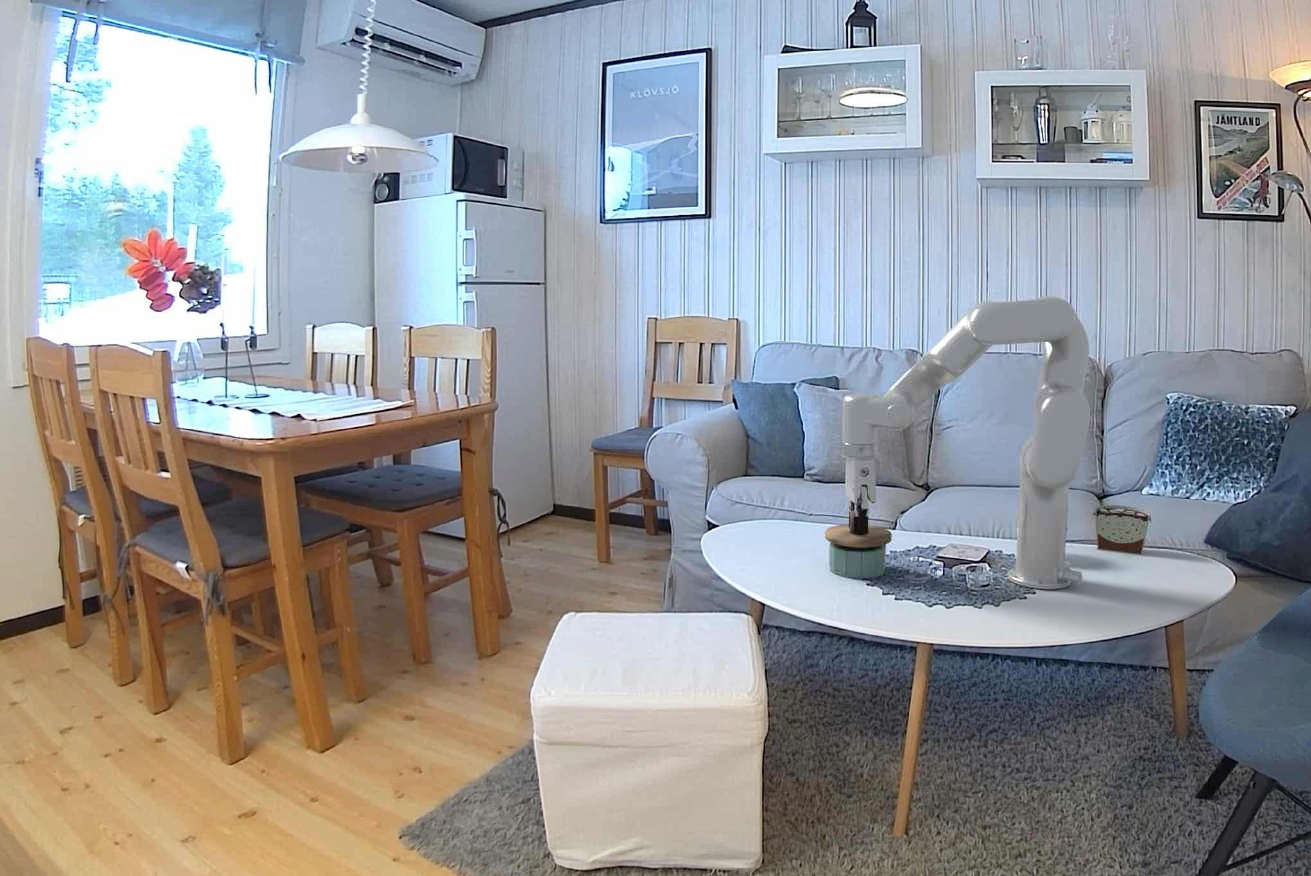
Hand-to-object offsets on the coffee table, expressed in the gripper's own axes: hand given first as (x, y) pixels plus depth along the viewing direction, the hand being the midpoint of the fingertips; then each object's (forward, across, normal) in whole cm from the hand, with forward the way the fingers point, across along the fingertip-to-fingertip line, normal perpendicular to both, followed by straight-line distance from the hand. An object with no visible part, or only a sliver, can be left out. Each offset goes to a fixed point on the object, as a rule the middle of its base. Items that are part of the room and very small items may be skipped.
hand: (858, 530), depth 203 cm
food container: (+10, +11, -65) cm, 66 cm away
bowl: (+9, 0, 0) cm, 9 cm away
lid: (+3, 0, 0) cm, 3 cm away
